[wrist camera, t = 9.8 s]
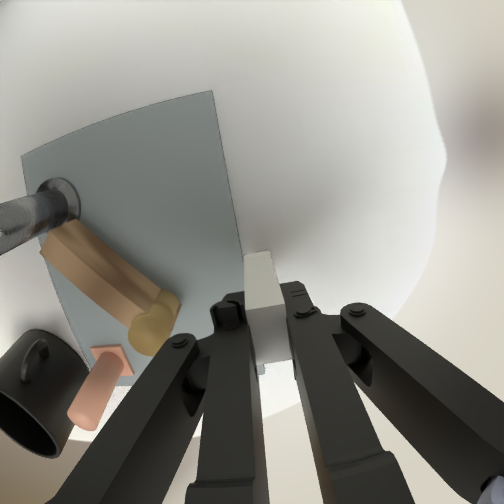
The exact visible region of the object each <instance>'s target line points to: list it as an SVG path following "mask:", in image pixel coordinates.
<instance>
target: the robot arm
mask: <svg viewBox="0 0 504 504" xmlns="http://www.w3.org/2000/svg"><path fill="white" fill-rule="evenodd" d="M244 287H245V291H240V292H234V293H228V294H226V295H225V296H224V298H223V299H222V301H220V302H217V303H215V304H214V305H213V306H211V308H210V310H209V311H210V314H211V318H212V322H213V325H214V333H213V334H211V335H210V336H207V337H205V338H202V339H199V340H196V337H195V336H194V335H193V334H190V333H179V334H176V335H173V336H172V337H170V338H168V339H167V340H166V341H165V342H164V344H163V345H162V346H161V348H160V349H159V350H158V352H157V353H156V354H155V356H154V357H153V359H152V360H151V361H150V363H149V364H148V365H147V367H146V368H145V370H144V371H143V372H142V374H141V375H140V376H139V378H138V379H137V380H136V382H135V383H134V385H133V386H132V387H131V389H130V390H129V392H128V393H127V394H126V396H125V397H124V398H123V400H122V401H121V403H120V404H119V405H118V407H117V408H116V410H115V411H114V412H113V414H112V415H111V417H110V418H109V419H108V421H107V422H106V424H105V425H104V426H103V428H102V429H101V431H100V432H99V433H98V435H97V436H96V438H95V439H94V440H93V442H92V443H91V445H90V446H89V448H88V449H87V450H86V452H85V454H84V455H83V456H82V458H81V459H80V461H79V462H78V463H77V465H76V466H75V468H74V469H73V470H72V472H71V473H70V475H69V476H68V478H67V479H66V481H65V482H64V483H63V485H62V486H61V488H60V489H59V491H58V492H57V494H56V495H55V496H54V497H53V498H52V499H51V500H49V501H48V502H46V503H45V504H162V502H163V500H164V498H165V496H166V494H167V491H168V489H169V487H170V485H171V482H172V481H173V478H174V476H175V474H176V472H177V470H178V467H179V465H180V463H181V461H182V459H183V456H184V454H185V452H186V449H187V448H188V445H189V443H190V441H191V439H192V436H193V434H194V432H195V430H196V427H197V425H198V423H199V421H200V418H201V416H202V414H203V421H202V430H201V439H200V449H199V458H198V469H197V477H196V481H195V482H194V483H190V484H189V486H188V487H187V491H186V495H185V504H270V502H269V490H268V479H267V468H266V458H265V446H264V435H263V423H262V412H261V400H260V389H259V377H258V370H257V365H261V364H267V363H273V362H279V361H285V360H291V359H292V361H293V369H294V377H295V380H296V381H297V385H298V390H299V394H300V398H301V403H302V407H303V411H304V416H305V420H306V425H307V429H308V433H309V438H310V442H311V447H312V452H313V457H314V461H315V466H316V470H317V475H318V480H319V484H320V489H321V494H322V498H323V503H324V504H415V502H414V500H413V497H412V495H411V493H410V490H409V488H408V485H407V483H406V480H405V478H404V476H403V473H402V471H401V469H400V466H399V464H398V462H397V460H396V458H395V456H394V454H393V453H391V452H390V451H385V450H384V449H383V448H382V446H381V444H380V441H379V439H378V437H377V434H376V432H375V430H374V427H373V425H372V423H371V421H370V418H369V416H368V413H367V411H366V409H365V407H364V404H363V402H362V400H361V398H360V395H359V393H358V391H357V389H356V387H355V384H354V382H355V383H356V384H357V385H358V387H359V388H360V389H361V390H362V391H363V392H364V393H365V394H366V396H367V397H368V398H369V399H370V400H371V401H372V402H373V403H374V404H375V406H376V407H377V408H378V409H379V410H380V411H381V412H382V413H383V414H384V415H385V417H386V418H387V419H388V420H389V421H390V422H391V423H392V424H393V425H394V426H395V427H396V428H397V430H398V431H399V432H400V433H401V434H402V435H403V436H404V437H405V439H406V440H407V441H408V442H409V443H410V444H411V445H412V446H413V447H414V448H415V449H416V451H417V452H418V453H419V454H420V455H421V456H422V457H423V458H424V459H425V460H426V461H427V462H428V463H429V464H430V466H431V467H432V468H433V469H434V470H435V471H436V472H437V473H438V474H439V475H440V476H441V478H442V479H443V480H444V481H445V482H446V483H447V484H448V485H449V486H450V487H451V488H452V489H453V490H454V491H455V492H456V493H457V494H458V495H459V496H461V497H462V498H464V499H465V500H467V501H468V502H470V503H471V504H504V402H503V401H501V400H500V399H498V398H497V397H496V396H495V395H493V394H492V393H491V392H489V391H488V390H487V389H485V388H484V387H482V386H481V385H480V384H479V383H477V382H476V381H475V380H473V379H472V378H471V377H469V376H468V375H467V374H465V373H464V372H462V371H461V370H460V369H458V368H457V367H456V366H454V365H453V364H452V363H450V362H449V361H448V360H446V359H445V358H443V357H442V356H441V355H439V354H438V353H437V352H435V351H434V350H432V349H431V348H430V347H428V346H427V345H426V344H424V343H423V342H421V341H420V340H419V339H417V338H416V337H414V336H413V335H411V334H410V333H409V332H407V331H406V330H405V329H403V328H402V327H400V326H399V325H398V324H396V323H395V322H393V321H392V320H390V319H389V318H388V317H386V316H385V315H383V314H382V313H381V312H379V311H378V310H376V309H375V308H373V307H372V306H370V305H368V304H365V303H352V304H348V305H346V306H344V307H343V308H342V309H341V312H340V315H326V314H322V313H321V311H320V309H319V308H318V307H316V306H313V303H312V301H311V299H310V297H309V295H308V293H307V291H306V288H305V286H304V284H302V283H300V282H299V281H294V282H288V283H283V284H279V281H278V278H277V275H276V271H275V268H274V264H273V261H272V258H271V254H270V251H269V250H268V251H262V252H256V253H250V254H244ZM256 364H257V365H256ZM353 381H354V382H353Z"/></svg>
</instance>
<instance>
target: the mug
mask: <svg viewBox="0 0 504 504" xmlns="http://www.w3.org/2000/svg"><path fill="white" fill-rule="evenodd" d="M88 374H89V373H88V370H87V368H86V367H85V365H84V363H83V362H82V360H81V359H80V358H79V357H78V355H77V354H76V353H75V352H74V351H73V350H72V349H71V348H70V347H69V346H68V345H67V344H65V343H64V342H63V341H61V340H60V339H59V338H57V337H55V336H53V335H52V334H49V333H47V332H44V331H39V330H33V331H28V332H26V333H24V334H23V335H22V336H21V337H20V338H19V339H18V340H17V341H16V342H15V343H14V344H13V345H12V346H11V347H10V349H9V350H8V351H7V352H6V353H5V354H4V355H3V356H2V357H1V358H0V429H1V430H2V431H3V432H4V433H5V434H6V435H7V436H8V437H9V438H11V439H12V440H13V441H14V442H16V443H17V444H19V445H20V446H22V447H23V448H25V449H26V450H28V451H30V452H32V453H34V454H36V455H39V456H42V457H45V458H50V459H53V458H57V457H59V455H60V454H61V452H62V450H63V448H64V446H65V444H66V441H67V439H68V437H69V435H70V433H71V431H72V429H73V427H74V425H75V424H74V423H73V422H72V421H71V420H70V419H69V417H68V415H67V411H68V410H69V408H70V406H71V404H72V402H73V400H74V399H75V397H76V395H77V393H78V392H79V390H80V388H81V386H82V385H83V383H84V381H85V379H86V378H87V376H88Z"/></svg>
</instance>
